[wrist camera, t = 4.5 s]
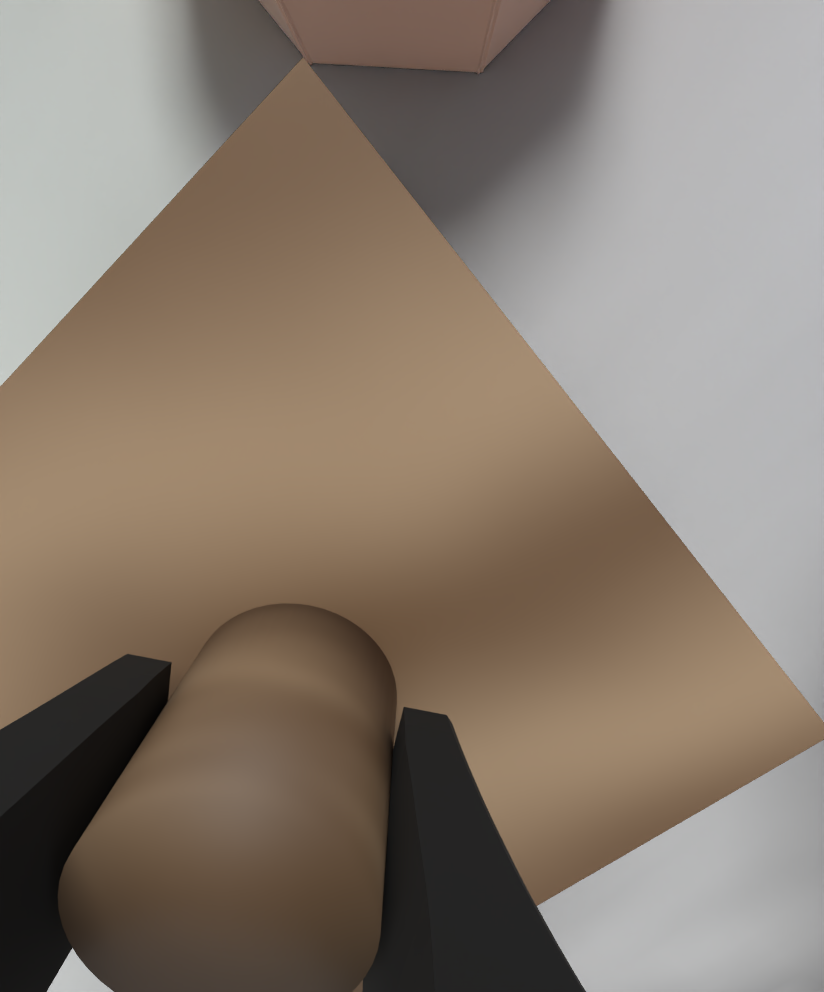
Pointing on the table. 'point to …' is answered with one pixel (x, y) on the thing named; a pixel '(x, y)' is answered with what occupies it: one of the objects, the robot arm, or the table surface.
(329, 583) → the lid
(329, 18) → the bowl
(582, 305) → the table surface
